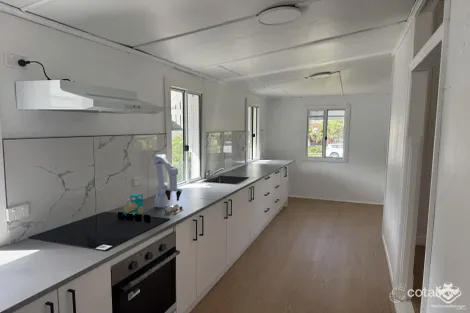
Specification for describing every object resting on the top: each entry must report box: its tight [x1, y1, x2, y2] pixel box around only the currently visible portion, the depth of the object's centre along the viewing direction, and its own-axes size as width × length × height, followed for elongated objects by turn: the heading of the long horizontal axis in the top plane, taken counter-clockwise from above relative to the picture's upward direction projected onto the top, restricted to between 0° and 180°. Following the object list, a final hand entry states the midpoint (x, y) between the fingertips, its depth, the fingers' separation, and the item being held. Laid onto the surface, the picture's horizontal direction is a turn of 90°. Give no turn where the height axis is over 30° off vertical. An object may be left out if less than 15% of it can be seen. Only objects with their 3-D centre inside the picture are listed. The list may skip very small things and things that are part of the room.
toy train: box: [122, 193, 145, 216], centre depth 231 cm, size 8×17×15 cm, turn 158°
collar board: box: [163, 205, 184, 215], centre depth 242 cm, size 10×14×4 cm
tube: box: [164, 203, 180, 213], centre depth 242 cm, size 14×4×4 cm
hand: (173, 200), depth 242 cm, fingers open, 7 cm apart
